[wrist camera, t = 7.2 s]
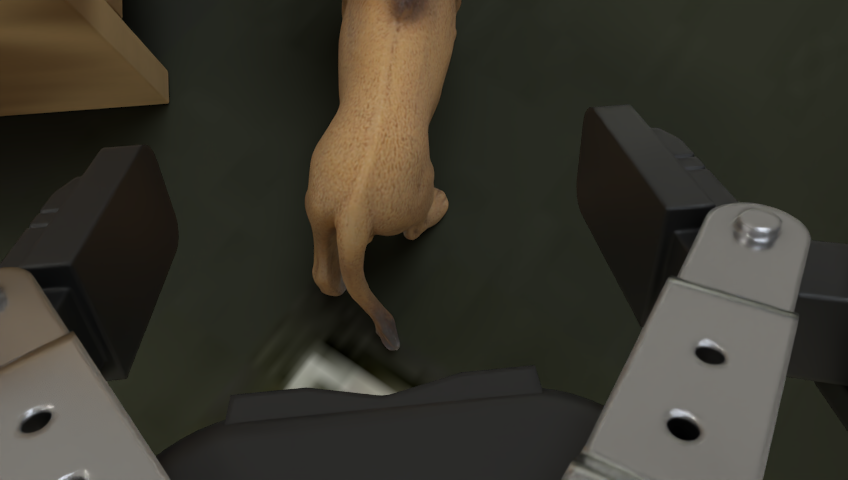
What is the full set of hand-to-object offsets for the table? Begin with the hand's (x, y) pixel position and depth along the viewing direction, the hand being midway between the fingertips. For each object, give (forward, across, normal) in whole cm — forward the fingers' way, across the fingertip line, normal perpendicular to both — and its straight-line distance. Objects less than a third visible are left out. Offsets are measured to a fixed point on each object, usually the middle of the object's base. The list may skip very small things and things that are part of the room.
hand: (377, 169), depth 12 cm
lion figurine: (+10, 0, -3) cm, 10 cm away
